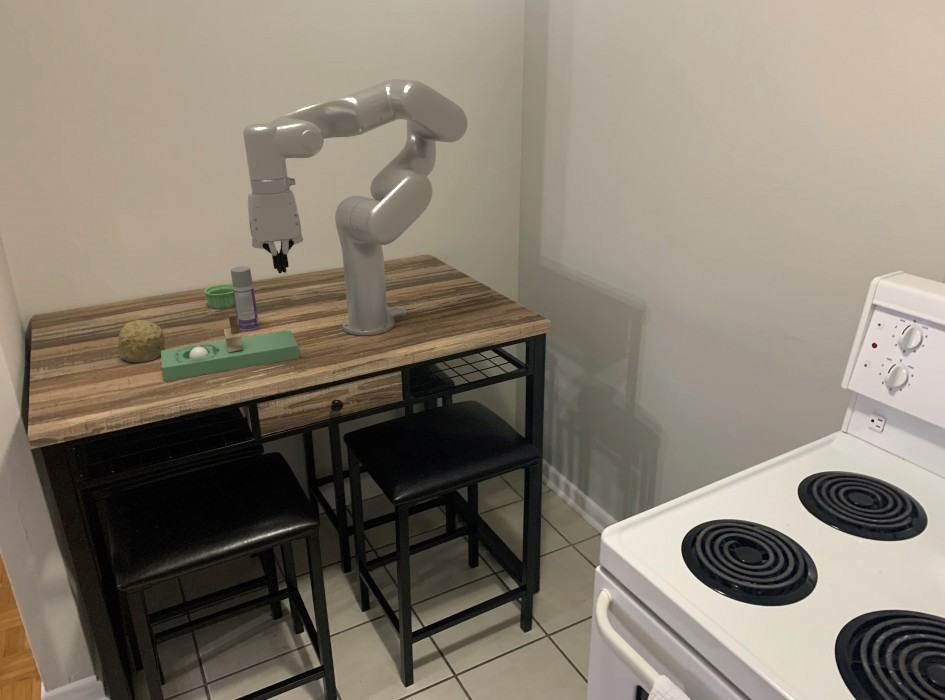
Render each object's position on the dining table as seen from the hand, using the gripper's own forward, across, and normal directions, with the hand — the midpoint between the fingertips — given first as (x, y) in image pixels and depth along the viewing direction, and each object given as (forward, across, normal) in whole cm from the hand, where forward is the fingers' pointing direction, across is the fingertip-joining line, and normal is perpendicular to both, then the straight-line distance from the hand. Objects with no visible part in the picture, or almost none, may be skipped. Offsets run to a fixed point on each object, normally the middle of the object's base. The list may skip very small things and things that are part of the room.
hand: (281, 271), depth 158 cm
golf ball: (+16, +20, 0) cm, 26 cm away
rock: (+19, +31, -12) cm, 38 cm away
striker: (+15, +12, 0) cm, 20 cm away
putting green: (+19, +13, 0) cm, 23 cm away
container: (+19, +7, -19) cm, 28 cm away
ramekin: (+19, +11, -40) cm, 46 cm away
